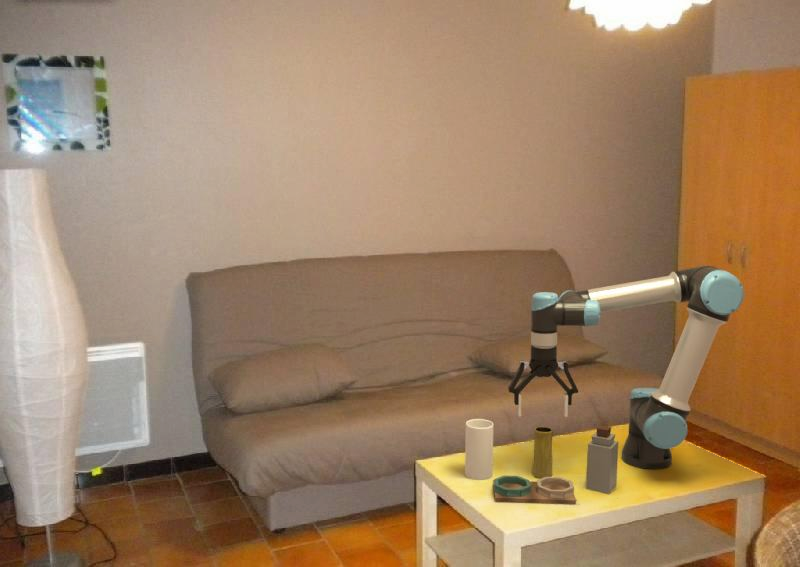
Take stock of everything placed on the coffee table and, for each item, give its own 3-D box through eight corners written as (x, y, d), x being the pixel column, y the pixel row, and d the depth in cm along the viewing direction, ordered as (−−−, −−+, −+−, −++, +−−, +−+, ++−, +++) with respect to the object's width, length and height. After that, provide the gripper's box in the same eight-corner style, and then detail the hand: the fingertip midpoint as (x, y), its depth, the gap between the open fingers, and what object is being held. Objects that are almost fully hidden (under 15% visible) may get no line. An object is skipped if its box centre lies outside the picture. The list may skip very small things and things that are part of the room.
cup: (496, 471, 238) (497, 421, 236) (487, 481, 231) (488, 429, 228) (470, 467, 242) (471, 417, 239) (461, 477, 234) (461, 425, 232)
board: (569, 486, 228) (570, 475, 227) (575, 504, 216) (576, 493, 215) (493, 484, 229) (493, 473, 229) (495, 501, 217) (495, 491, 217)
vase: (552, 479, 232) (554, 433, 230) (531, 478, 234) (532, 432, 231) (552, 471, 238) (554, 426, 236) (532, 470, 239) (533, 425, 237)
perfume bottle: (609, 494, 222) (611, 433, 219) (585, 489, 226) (588, 429, 223) (616, 485, 228) (619, 426, 225) (593, 480, 232) (596, 422, 229)
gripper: (584, 342, 233) (582, 411, 236) (500, 342, 234) (499, 410, 238) (589, 348, 225) (587, 419, 229) (501, 348, 227) (501, 419, 230)
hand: (542, 415), depth 233 cm, fingers open, 13 cm apart
